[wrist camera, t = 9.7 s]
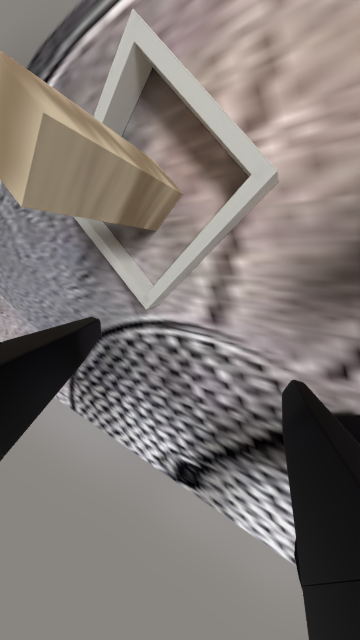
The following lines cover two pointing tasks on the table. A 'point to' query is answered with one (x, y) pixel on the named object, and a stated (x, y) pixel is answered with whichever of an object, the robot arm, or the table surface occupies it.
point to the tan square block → (74, 158)
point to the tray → (125, 89)
